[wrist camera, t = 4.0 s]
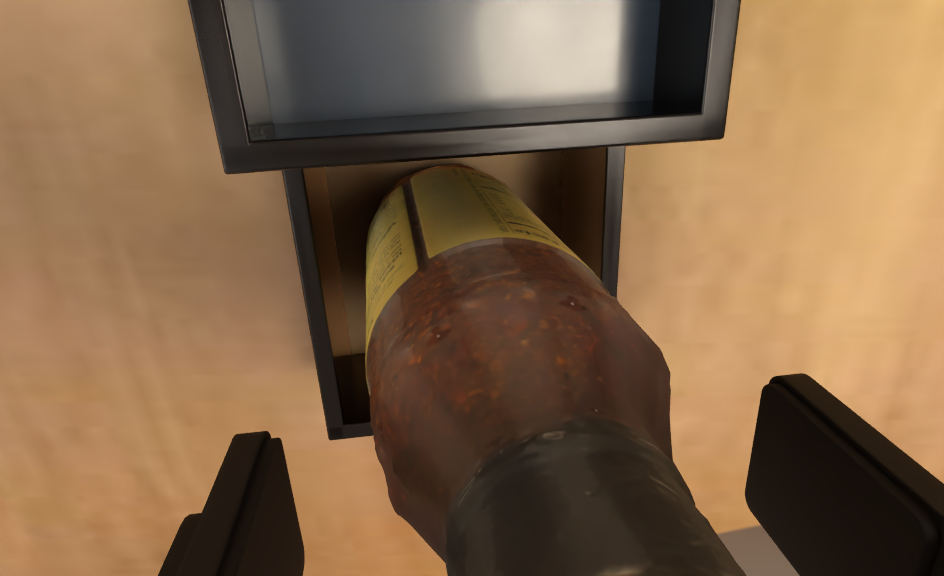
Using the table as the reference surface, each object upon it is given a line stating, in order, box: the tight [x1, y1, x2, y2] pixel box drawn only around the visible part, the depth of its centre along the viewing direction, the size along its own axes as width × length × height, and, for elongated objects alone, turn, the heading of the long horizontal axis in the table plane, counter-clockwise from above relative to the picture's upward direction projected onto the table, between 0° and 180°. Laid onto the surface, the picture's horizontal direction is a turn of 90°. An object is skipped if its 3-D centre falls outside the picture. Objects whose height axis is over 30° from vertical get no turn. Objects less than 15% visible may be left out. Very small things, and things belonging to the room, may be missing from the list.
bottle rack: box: [188, 0, 741, 440], centre depth 17 cm, size 10×22×10 cm, turn 3°
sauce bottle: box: [365, 164, 746, 576], centre depth 14 cm, size 7×6×20 cm
